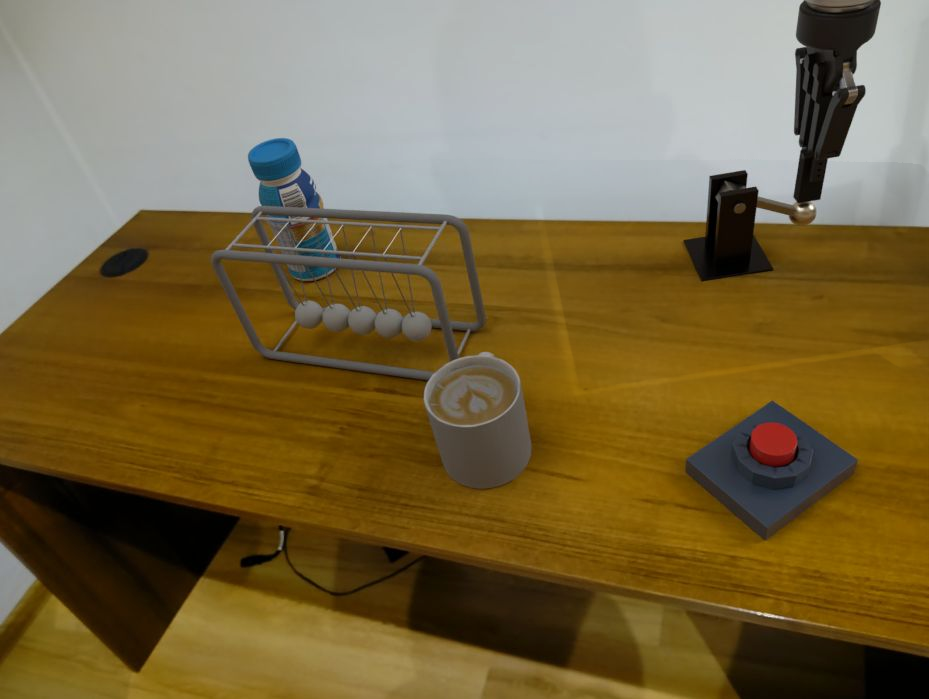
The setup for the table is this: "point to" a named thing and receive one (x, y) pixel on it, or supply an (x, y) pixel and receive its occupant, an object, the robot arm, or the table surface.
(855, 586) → the table surface
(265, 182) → the beverage bottle
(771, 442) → the button
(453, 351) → the newton's cradle
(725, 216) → the bracket
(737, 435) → the button block
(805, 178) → the robot arm
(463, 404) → the coffee mug
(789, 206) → the lever
